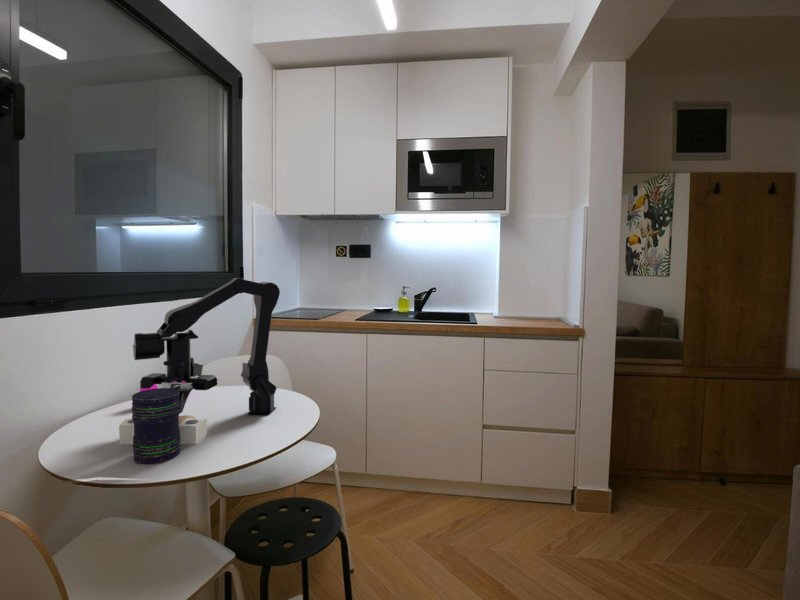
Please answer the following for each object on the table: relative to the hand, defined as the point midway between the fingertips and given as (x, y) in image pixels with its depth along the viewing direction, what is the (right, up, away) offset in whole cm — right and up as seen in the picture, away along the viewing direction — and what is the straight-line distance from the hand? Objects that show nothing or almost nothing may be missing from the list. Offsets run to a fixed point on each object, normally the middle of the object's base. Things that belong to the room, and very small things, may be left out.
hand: (179, 412), depth 116 cm
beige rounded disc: (0, -5, 0) cm, 5 cm away
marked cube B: (-9, -6, -6) cm, 12 cm away
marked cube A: (+6, -6, -6) cm, 11 cm away
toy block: (-18, -4, +26) cm, 32 cm away
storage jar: (+3, -6, -15) cm, 17 cm away
